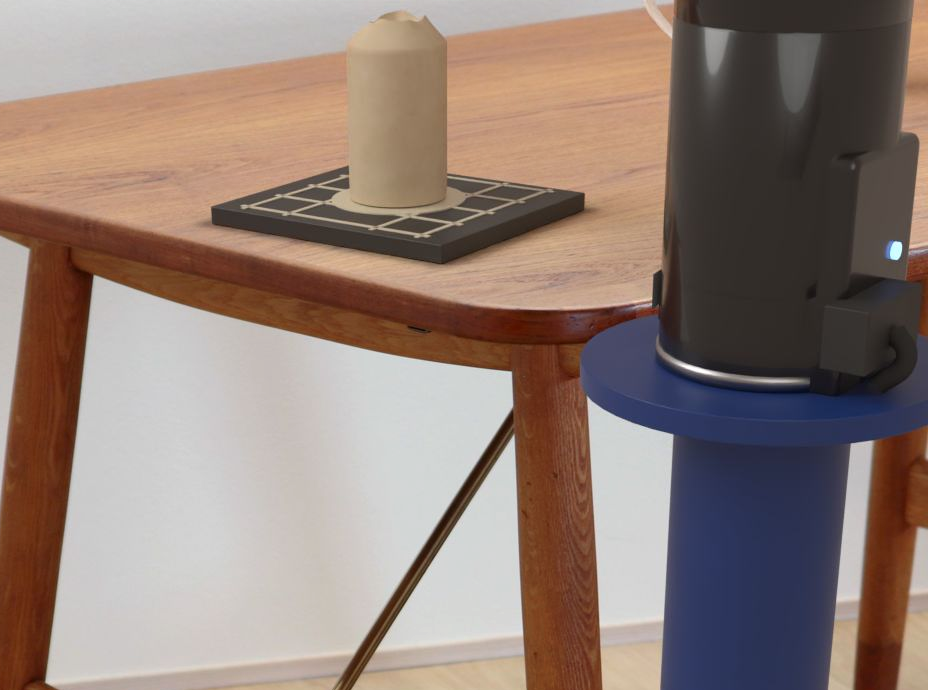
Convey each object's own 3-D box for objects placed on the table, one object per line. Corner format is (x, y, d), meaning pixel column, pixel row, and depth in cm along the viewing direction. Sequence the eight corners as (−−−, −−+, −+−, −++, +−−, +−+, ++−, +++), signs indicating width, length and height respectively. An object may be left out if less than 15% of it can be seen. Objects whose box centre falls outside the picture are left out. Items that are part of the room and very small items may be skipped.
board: (584, 210, 110) (585, 190, 109) (441, 264, 100) (441, 243, 99) (362, 177, 119) (362, 159, 118) (211, 223, 109) (210, 204, 108)
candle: (358, 185, 112) (354, 7, 108) (452, 187, 111) (452, 7, 107) (342, 208, 107) (337, 21, 103) (440, 209, 106) (440, 21, 102)
